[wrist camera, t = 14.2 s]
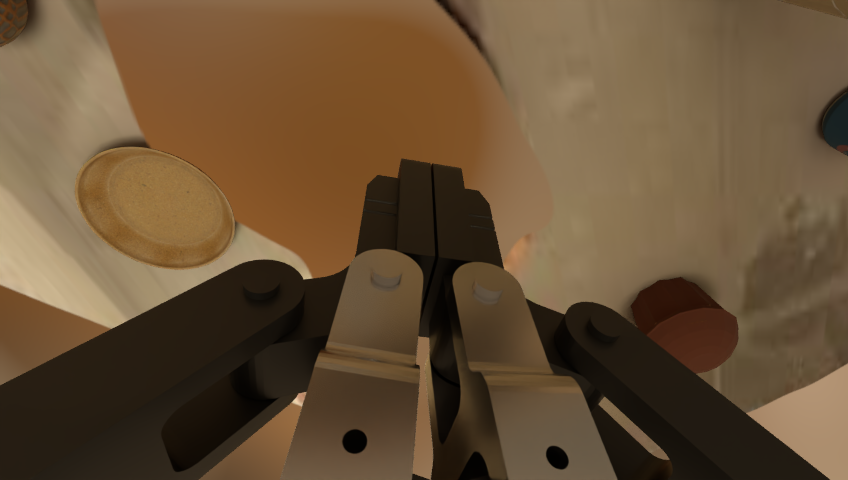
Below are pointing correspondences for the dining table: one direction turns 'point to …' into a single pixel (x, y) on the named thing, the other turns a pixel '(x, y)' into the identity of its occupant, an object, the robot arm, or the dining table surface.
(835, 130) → the soda can
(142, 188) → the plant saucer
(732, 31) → the dining table surface
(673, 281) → the muffin
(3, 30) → the vase
